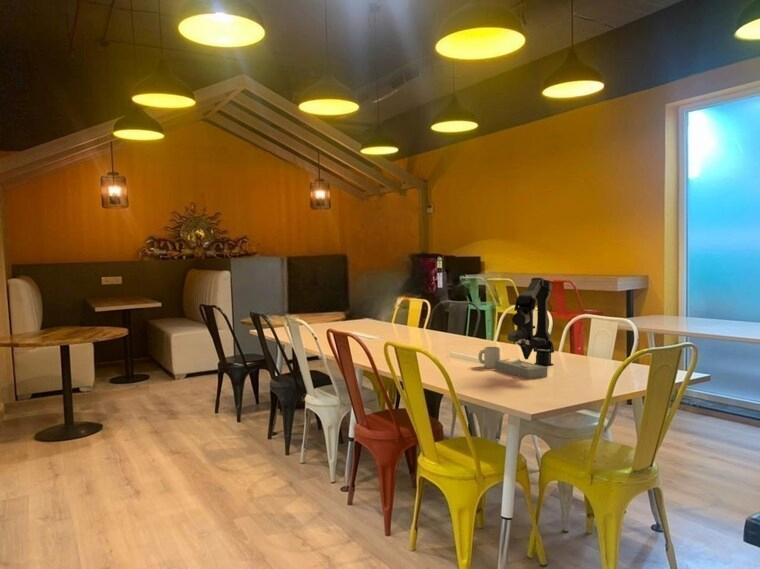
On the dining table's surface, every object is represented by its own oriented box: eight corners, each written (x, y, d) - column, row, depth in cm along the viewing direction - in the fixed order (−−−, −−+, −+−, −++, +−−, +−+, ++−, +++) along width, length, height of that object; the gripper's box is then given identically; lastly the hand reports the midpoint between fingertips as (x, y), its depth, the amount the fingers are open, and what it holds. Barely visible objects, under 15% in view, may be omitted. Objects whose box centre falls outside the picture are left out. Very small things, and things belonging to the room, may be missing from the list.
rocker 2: (531, 367, 249) (532, 364, 249) (537, 369, 245) (538, 366, 245) (521, 365, 246) (521, 362, 246) (527, 367, 242) (527, 364, 243)
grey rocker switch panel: (513, 367, 264) (513, 358, 264) (547, 376, 243) (547, 367, 243) (495, 369, 260) (495, 360, 259) (528, 379, 239) (528, 369, 239)
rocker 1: (514, 359, 260) (514, 357, 259) (520, 361, 256) (519, 358, 256) (504, 364, 257) (503, 361, 257) (510, 365, 254) (509, 363, 253)
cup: (499, 368, 261) (499, 349, 261) (478, 367, 264) (477, 348, 263) (500, 365, 268) (500, 346, 268) (478, 364, 271) (478, 346, 270)
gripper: (497, 322, 249) (498, 357, 250) (525, 327, 232) (525, 364, 233) (518, 320, 254) (518, 355, 254) (546, 325, 237) (546, 362, 238)
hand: (526, 359), depth 245 cm, fingers closed
